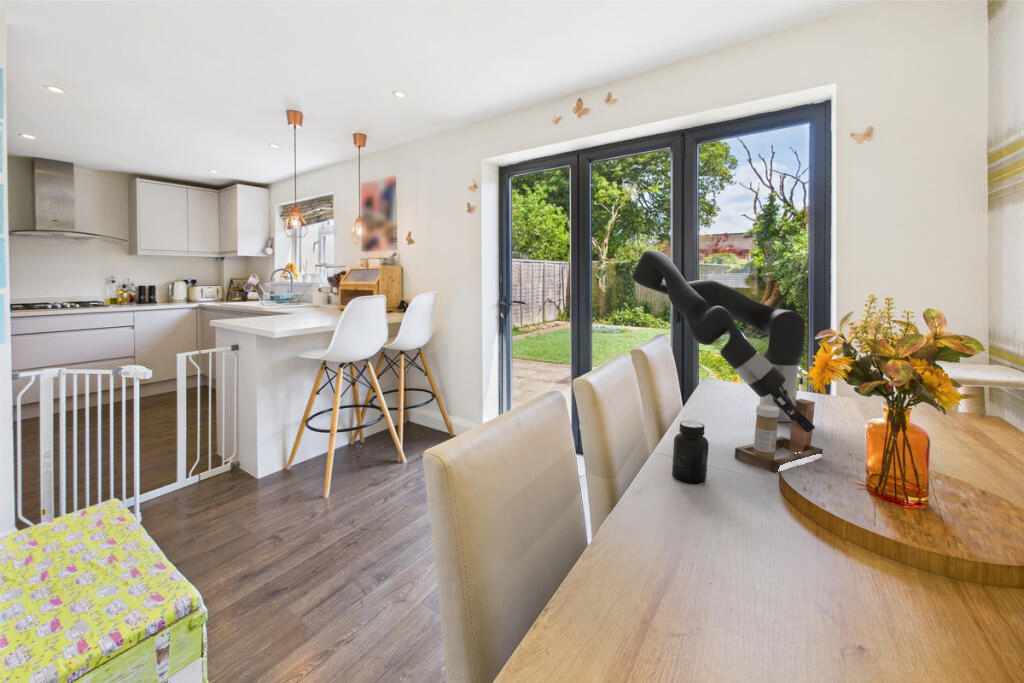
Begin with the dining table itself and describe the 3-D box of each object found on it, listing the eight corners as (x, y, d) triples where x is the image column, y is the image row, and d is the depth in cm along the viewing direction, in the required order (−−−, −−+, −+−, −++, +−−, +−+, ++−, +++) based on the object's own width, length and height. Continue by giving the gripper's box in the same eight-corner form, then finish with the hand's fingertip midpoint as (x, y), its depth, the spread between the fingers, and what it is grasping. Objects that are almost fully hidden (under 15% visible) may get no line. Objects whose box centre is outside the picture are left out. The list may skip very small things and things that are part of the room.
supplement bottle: (695, 470, 99) (698, 418, 98) (712, 484, 93) (716, 428, 91) (666, 472, 98) (669, 419, 97) (681, 486, 92) (684, 430, 90)
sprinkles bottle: (760, 457, 107) (765, 402, 105) (779, 464, 103) (784, 408, 101) (747, 460, 105) (752, 405, 103) (765, 468, 101) (770, 410, 99)
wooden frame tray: (783, 444, 115) (788, 395, 113) (824, 458, 106) (829, 405, 105) (734, 457, 106) (738, 404, 105) (774, 473, 98) (779, 416, 96)
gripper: (746, 377, 120) (793, 425, 116) (746, 389, 108) (798, 442, 104) (771, 360, 117) (819, 408, 113) (773, 369, 104) (828, 424, 101)
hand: (809, 424), depth 109 cm, fingers open, 8 cm apart
